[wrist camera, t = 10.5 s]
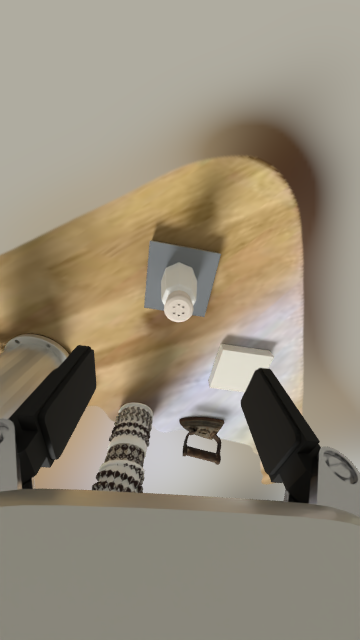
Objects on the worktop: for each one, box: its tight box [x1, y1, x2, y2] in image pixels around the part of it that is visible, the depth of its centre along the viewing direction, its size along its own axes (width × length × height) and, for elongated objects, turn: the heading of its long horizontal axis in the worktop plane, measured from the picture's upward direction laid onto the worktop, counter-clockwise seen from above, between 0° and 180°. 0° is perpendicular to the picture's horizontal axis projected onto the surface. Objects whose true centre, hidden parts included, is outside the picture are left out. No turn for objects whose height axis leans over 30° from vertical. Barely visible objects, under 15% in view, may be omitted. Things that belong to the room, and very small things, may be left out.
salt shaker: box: [161, 262, 197, 322], centre depth 21 cm, size 5×5×11 cm
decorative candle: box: [92, 402, 153, 493], centre depth 32 cm, size 9×9×25 cm
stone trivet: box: [208, 344, 274, 392], centre depth 35 cm, size 10×10×2 cm
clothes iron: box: [179, 417, 224, 465], centre depth 42 cm, size 7×11×10 cm, turn 72°
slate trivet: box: [144, 240, 221, 317], centre depth 27 cm, size 10×10×2 cm
